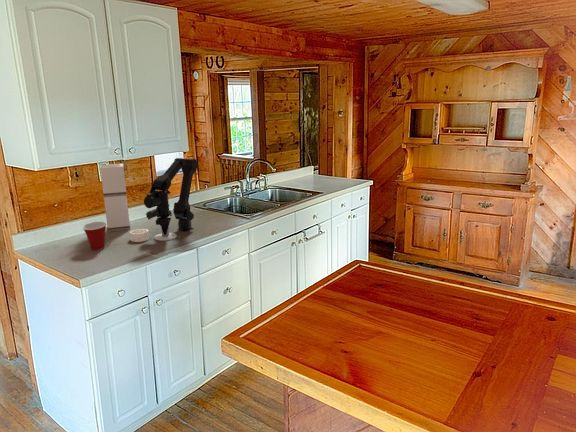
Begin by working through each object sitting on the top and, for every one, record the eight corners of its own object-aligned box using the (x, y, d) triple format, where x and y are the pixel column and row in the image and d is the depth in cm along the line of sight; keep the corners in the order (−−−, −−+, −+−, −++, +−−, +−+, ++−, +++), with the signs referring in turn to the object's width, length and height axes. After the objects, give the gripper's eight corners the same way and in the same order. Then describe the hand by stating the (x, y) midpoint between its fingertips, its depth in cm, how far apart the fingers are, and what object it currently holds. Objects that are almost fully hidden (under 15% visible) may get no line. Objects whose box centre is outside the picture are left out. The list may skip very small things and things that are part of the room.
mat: (167, 233, 235) (167, 233, 235) (181, 237, 229) (181, 236, 229) (150, 239, 226) (150, 238, 226) (164, 242, 220) (164, 242, 220)
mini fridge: (129, 224, 254) (123, 163, 245) (130, 229, 244) (123, 166, 235) (108, 226, 250) (100, 165, 241) (108, 231, 240) (100, 167, 231)
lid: (167, 233, 235) (166, 223, 234) (181, 236, 229) (180, 226, 227) (150, 238, 226) (149, 228, 225) (164, 242, 220) (163, 231, 219)
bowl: (142, 236, 232) (141, 227, 230) (153, 238, 227) (152, 230, 225) (127, 240, 225) (126, 232, 223) (138, 243, 219) (137, 234, 218)
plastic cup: (80, 250, 211) (76, 226, 208) (98, 243, 220) (95, 220, 217) (95, 253, 206) (92, 228, 203) (114, 246, 215) (111, 223, 212)
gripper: (148, 200, 231) (151, 229, 235) (143, 209, 213) (146, 240, 217) (170, 199, 232) (173, 228, 236) (167, 207, 215) (170, 238, 219)
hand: (165, 233), depth 227 cm, fingers closed on lid, 4 cm apart
